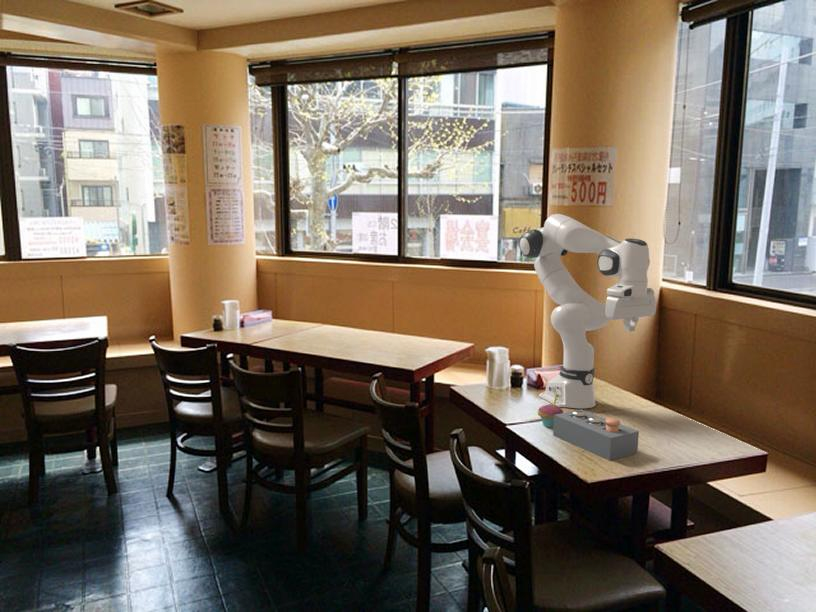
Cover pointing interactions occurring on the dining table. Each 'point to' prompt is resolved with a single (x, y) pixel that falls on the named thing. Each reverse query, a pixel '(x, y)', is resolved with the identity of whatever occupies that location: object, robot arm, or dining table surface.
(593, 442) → the slate block
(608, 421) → the terracotta plug
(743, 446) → the dining table surface
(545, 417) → the cupcake
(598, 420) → the steel plug
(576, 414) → the steel plug
